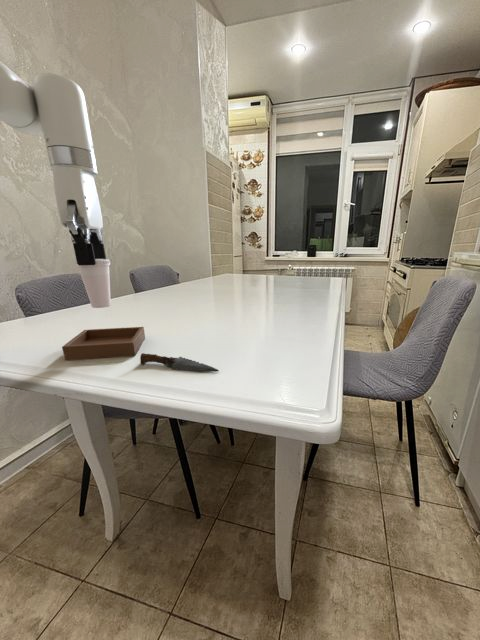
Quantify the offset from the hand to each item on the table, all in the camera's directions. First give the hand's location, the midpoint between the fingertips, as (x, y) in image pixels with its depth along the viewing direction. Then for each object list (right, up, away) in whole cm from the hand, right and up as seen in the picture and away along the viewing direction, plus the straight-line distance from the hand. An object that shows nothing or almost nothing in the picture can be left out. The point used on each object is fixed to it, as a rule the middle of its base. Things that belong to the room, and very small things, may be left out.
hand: (93, 263), depth 60 cm
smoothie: (0, -9, +3) cm, 9 cm away
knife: (+19, -21, -3) cm, 29 cm away
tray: (0, -18, +6) cm, 19 cm away
